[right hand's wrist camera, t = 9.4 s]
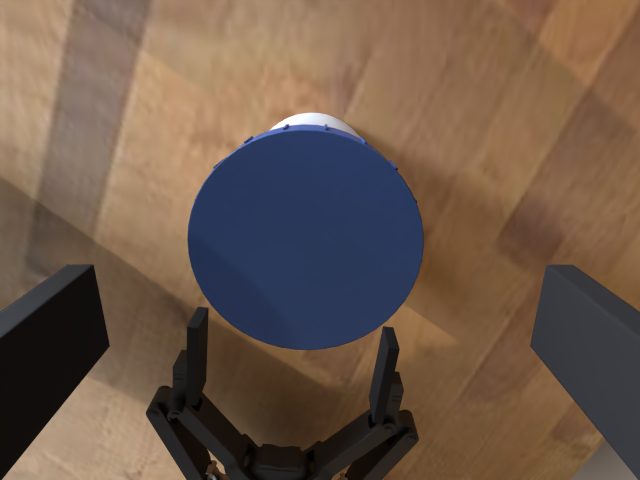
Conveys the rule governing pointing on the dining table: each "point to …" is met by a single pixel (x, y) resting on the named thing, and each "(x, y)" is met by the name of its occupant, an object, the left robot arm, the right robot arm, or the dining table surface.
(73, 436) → the dining table surface
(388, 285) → the lid
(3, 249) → the dining table surface
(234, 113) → the dining table surface
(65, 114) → the dining table surface
